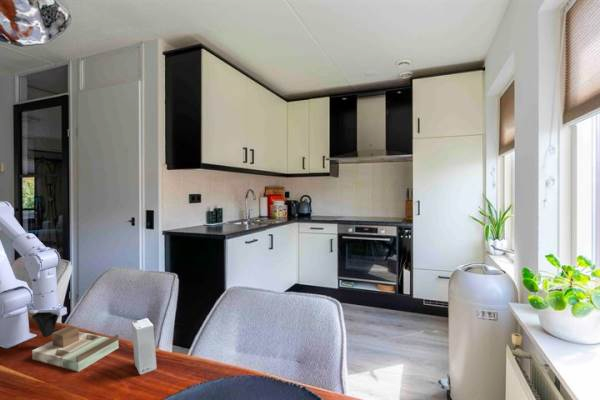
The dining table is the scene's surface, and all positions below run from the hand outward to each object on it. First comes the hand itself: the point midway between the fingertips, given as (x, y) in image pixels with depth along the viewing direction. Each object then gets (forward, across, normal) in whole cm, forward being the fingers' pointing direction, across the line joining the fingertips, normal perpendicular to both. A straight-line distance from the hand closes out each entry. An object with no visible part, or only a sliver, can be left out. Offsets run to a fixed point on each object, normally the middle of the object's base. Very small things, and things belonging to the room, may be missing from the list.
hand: (48, 335), depth 94 cm
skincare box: (+4, +36, +1) cm, 36 cm away
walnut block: (+1, +8, 0) cm, 8 cm away
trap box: (+3, +12, 0) cm, 12 cm away
